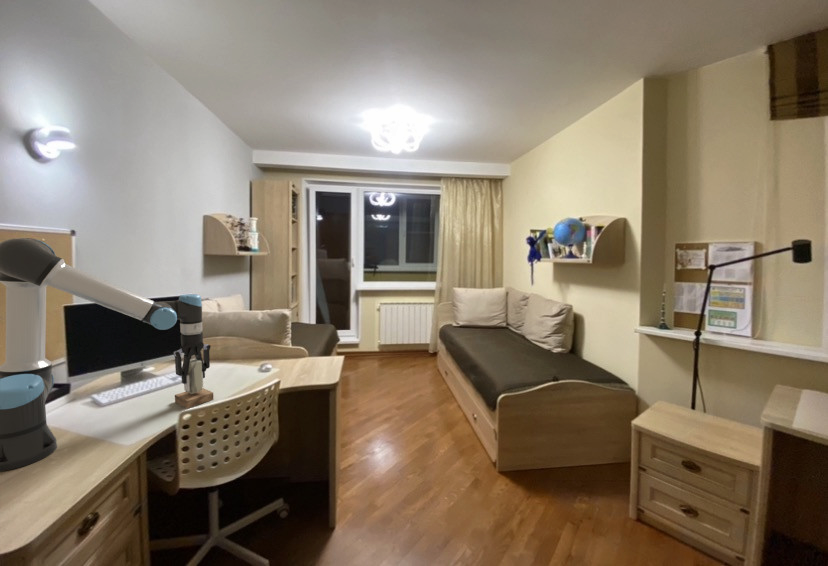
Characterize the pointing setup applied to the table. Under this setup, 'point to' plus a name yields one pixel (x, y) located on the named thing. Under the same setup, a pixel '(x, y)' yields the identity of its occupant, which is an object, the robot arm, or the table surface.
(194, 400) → the base
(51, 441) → the robot arm
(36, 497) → the table surface
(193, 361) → the box
